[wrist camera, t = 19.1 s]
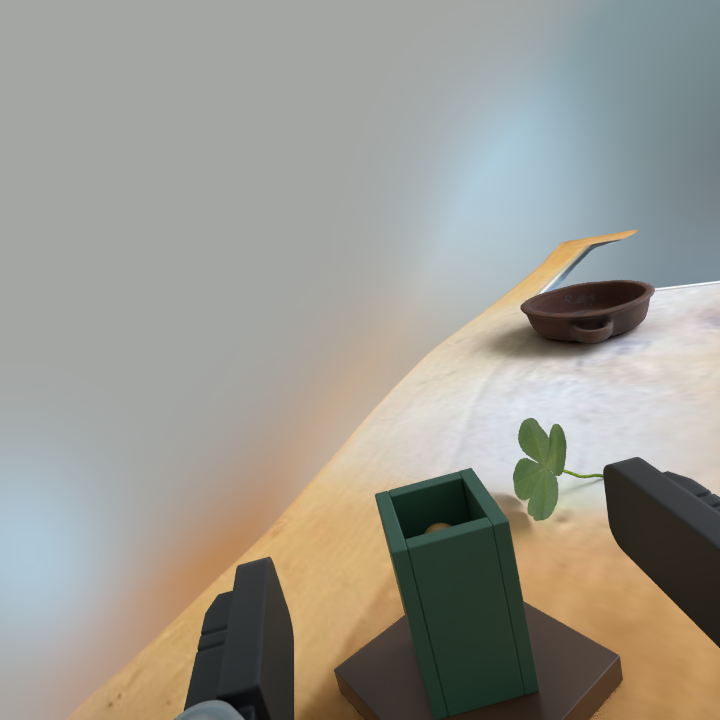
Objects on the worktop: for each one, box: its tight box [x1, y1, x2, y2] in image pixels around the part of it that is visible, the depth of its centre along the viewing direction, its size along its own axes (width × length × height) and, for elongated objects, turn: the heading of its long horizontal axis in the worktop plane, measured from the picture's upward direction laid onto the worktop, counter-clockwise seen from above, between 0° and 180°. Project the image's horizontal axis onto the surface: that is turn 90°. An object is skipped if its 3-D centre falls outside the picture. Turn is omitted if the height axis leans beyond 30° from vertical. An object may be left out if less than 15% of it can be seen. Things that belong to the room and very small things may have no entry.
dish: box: [521, 280, 655, 343], centre depth 77 cm, size 18×22×5 cm
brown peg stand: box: [334, 523, 623, 720], centre depth 26 cm, size 10×10×9 cm
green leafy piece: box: [513, 418, 604, 521], centre depth 41 cm, size 7×8×6 cm
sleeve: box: [375, 468, 539, 720], centre depth 26 cm, size 5×5×9 cm
